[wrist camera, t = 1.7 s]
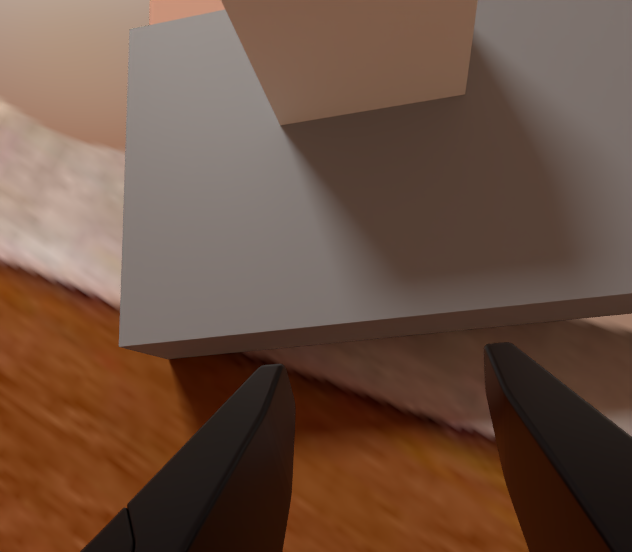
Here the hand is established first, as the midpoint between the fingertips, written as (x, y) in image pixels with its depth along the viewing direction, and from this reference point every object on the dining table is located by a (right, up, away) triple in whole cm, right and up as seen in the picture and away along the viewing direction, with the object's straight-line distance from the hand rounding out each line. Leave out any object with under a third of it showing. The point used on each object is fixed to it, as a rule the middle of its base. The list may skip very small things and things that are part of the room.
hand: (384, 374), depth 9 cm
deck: (+2, +6, +15) cm, 16 cm away
